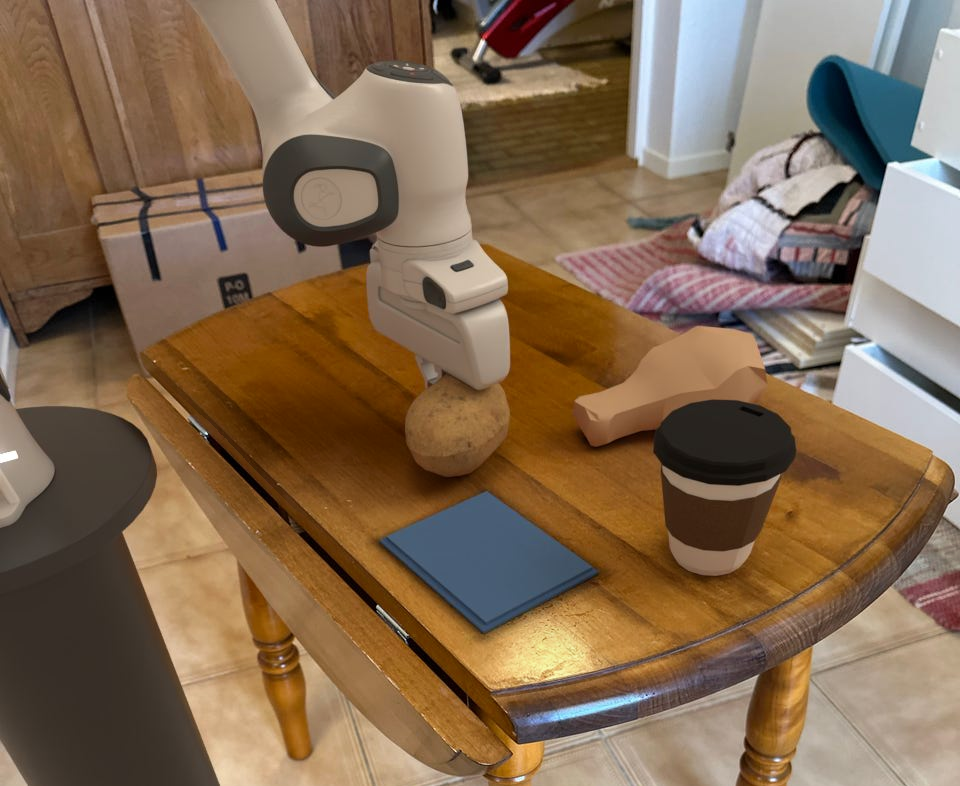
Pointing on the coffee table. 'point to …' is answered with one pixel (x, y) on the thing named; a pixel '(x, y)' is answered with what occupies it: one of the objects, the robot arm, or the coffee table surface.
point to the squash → (675, 383)
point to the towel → (487, 560)
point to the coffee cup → (719, 479)
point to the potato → (456, 426)
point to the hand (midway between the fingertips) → (440, 396)
